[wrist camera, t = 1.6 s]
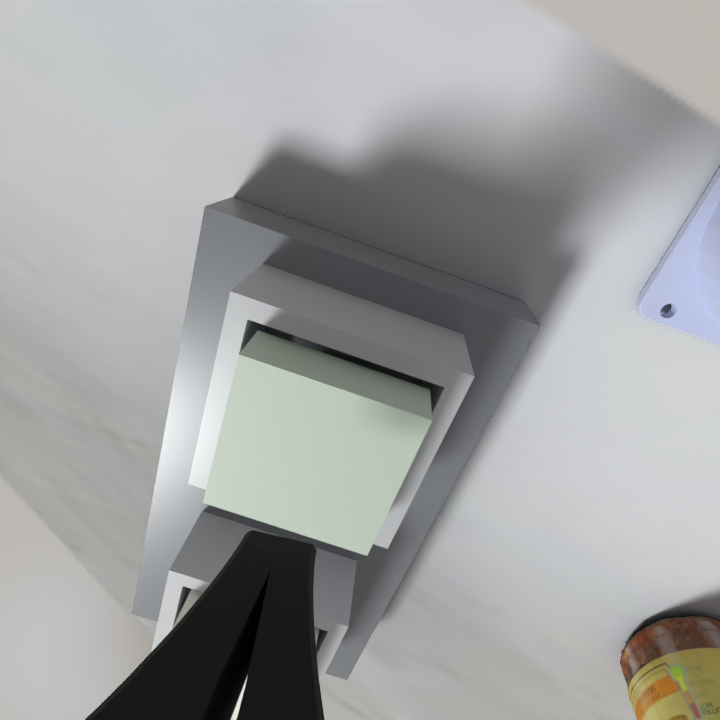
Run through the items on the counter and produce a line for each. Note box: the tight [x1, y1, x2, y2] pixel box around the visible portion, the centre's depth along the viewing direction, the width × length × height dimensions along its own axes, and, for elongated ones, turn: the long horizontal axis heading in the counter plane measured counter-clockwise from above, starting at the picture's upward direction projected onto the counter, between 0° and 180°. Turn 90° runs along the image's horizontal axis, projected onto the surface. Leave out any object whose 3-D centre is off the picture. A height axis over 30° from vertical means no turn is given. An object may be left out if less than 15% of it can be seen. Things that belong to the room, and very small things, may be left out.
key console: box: [132, 197, 540, 684], centre depth 19 cm, size 11×20×6 cm, turn 162°
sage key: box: [203, 330, 432, 556], centre depth 13 cm, size 5×5×2 cm
